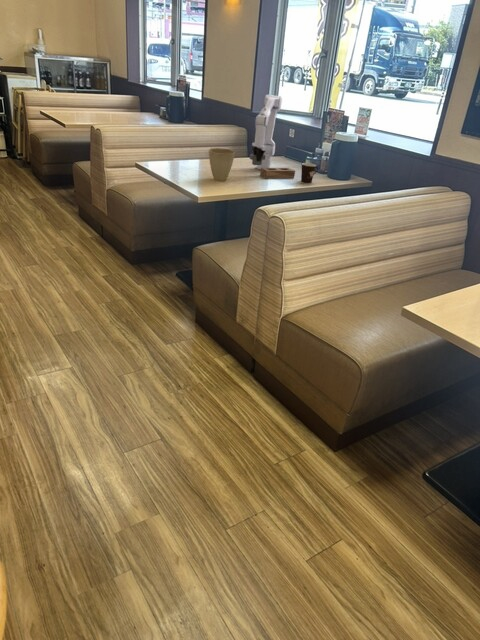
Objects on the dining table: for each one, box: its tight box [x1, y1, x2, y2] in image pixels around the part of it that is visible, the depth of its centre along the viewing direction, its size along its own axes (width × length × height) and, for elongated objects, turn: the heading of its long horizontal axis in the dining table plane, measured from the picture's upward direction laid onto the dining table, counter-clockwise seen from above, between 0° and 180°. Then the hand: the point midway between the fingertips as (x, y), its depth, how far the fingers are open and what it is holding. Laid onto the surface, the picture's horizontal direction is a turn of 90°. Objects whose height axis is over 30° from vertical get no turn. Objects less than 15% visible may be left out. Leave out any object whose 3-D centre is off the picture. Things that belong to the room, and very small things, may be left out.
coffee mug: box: [300, 162, 319, 184], centre depth 286 cm, size 12×9×10 cm
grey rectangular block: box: [249, 153, 265, 166], centre depth 285 cm, size 3×9×6 cm, turn 114°
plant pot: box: [208, 147, 236, 182], centre depth 268 cm, size 15×15×16 cm
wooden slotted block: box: [259, 167, 296, 179], centre depth 291 cm, size 8×20×4 cm, turn 115°
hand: (257, 160), depth 285 cm, fingers closed on grey rectangular block, 3 cm apart
